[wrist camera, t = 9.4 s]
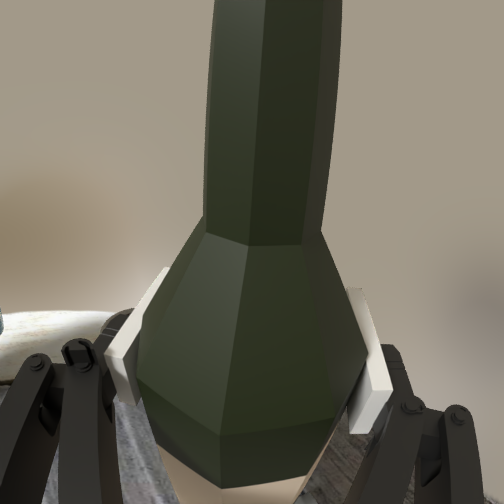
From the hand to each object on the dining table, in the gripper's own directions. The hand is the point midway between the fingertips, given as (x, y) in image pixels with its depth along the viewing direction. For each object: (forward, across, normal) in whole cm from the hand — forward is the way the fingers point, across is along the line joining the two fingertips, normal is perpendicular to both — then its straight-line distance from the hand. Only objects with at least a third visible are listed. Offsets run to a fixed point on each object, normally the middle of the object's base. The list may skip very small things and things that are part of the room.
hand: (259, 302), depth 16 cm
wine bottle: (-5, 0, -15) cm, 16 cm away
